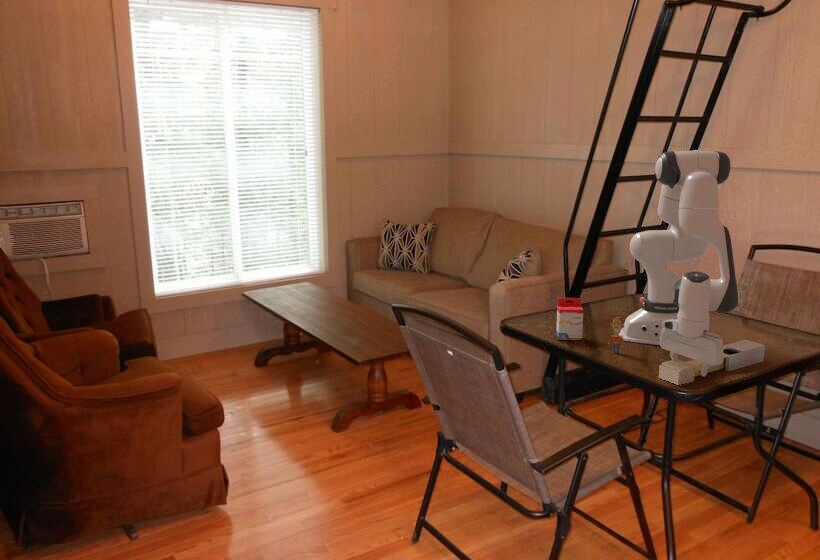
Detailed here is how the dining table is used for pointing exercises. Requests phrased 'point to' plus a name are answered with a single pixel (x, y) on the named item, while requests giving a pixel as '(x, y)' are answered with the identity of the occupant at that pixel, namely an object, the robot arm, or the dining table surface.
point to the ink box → (569, 318)
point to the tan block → (712, 368)
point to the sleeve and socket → (738, 357)
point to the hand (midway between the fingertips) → (689, 370)
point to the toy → (616, 333)
